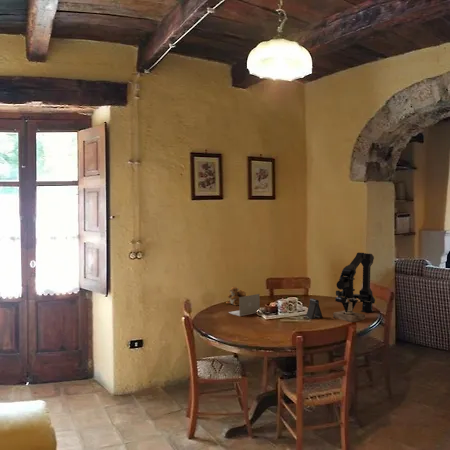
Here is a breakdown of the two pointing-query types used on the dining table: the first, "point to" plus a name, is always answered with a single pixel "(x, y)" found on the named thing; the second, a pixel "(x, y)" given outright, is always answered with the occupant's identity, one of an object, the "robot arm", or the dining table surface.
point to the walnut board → (349, 316)
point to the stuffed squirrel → (235, 296)
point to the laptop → (247, 305)
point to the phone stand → (314, 309)
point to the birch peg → (349, 309)
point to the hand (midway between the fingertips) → (348, 311)
